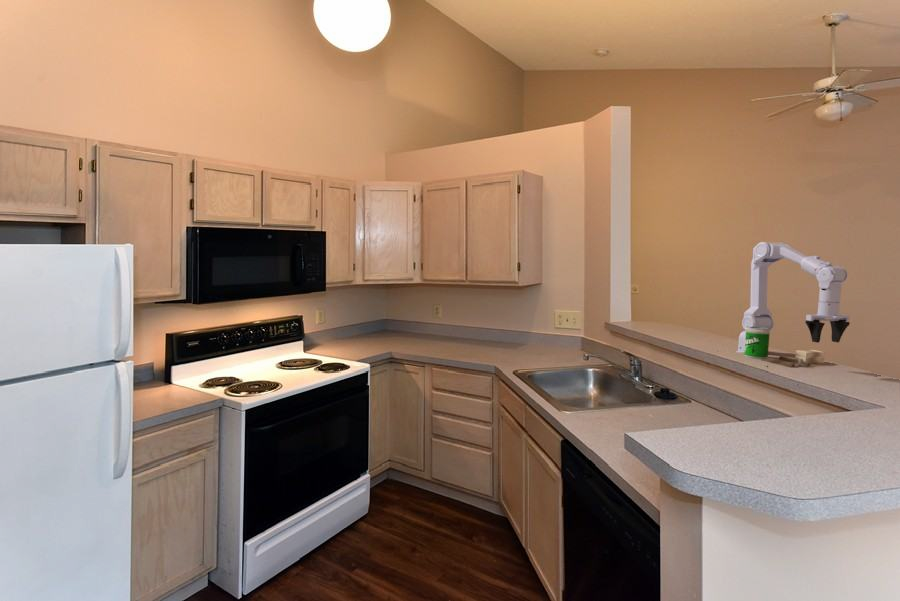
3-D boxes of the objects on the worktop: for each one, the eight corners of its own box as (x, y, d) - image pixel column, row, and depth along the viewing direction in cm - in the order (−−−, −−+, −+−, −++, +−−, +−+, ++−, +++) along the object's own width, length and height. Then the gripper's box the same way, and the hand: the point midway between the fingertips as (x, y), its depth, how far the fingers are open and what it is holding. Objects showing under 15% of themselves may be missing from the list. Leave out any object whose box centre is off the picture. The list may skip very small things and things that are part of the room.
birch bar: (805, 363, 174) (806, 352, 173) (795, 361, 177) (795, 350, 177) (823, 363, 176) (824, 352, 175) (812, 360, 179) (813, 349, 179)
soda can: (760, 358, 188) (763, 326, 187) (771, 362, 180) (774, 329, 179) (740, 357, 188) (742, 326, 187) (750, 361, 181) (752, 329, 180)
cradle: (760, 362, 179) (761, 353, 178) (804, 361, 184) (805, 351, 183) (790, 370, 167) (791, 360, 167) (836, 368, 172) (837, 358, 172)
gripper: (820, 303, 161) (816, 344, 162) (859, 303, 163) (855, 344, 164) (802, 301, 168) (798, 340, 169) (839, 301, 170) (836, 340, 171)
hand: (825, 342), depth 167 cm, fingers open, 7 cm apart
